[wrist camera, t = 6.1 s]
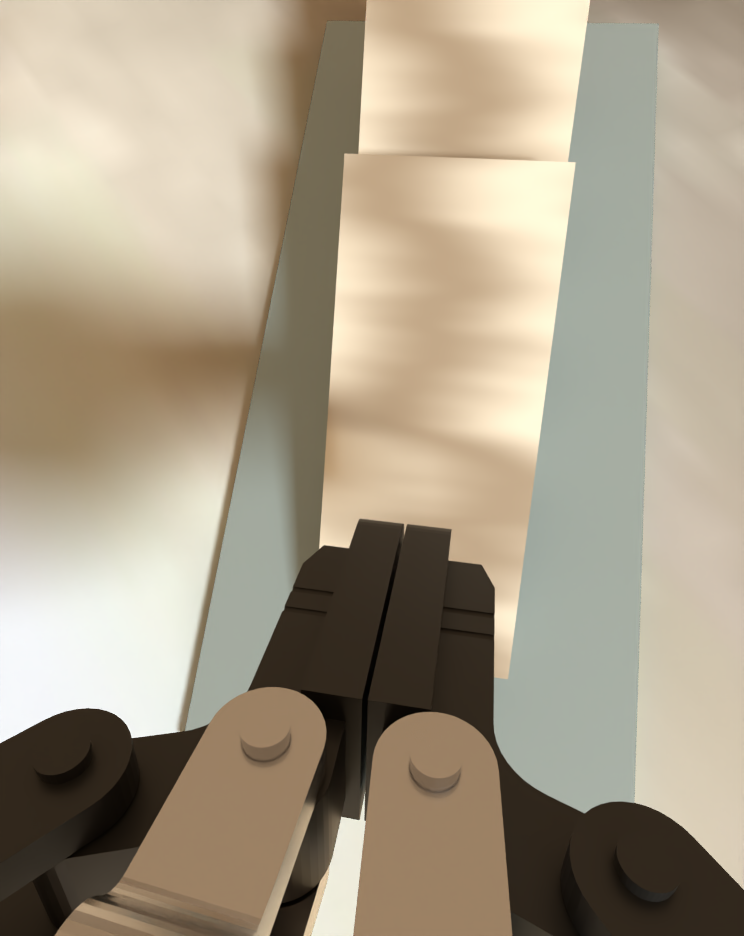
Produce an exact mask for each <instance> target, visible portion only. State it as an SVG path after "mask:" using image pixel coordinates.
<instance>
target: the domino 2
mask: <svg viewBox="0 0 744 936" xmlns="http://www.w3.org/2000/svg"><path fill="white" fill-rule="evenodd" d="M575 164H576V162H555V161H528V160H502V159H476V158H450V157H424V156H397V155H371V154H344V170H343V185H342V201H341V216H340V232H339V248H338V263H337V279H336V294H335V310H334V326H333V341H332V357H331V372H330V388H329V404H328V419H327V435H326V450H325V466H324V482H323V497H322V513H321V528H320V544H319V549H320V548H321V547H322V546H323V545H327V546H335V547H343V548H349V546H350V543H351V540H352V538H353V535H354V532H355V529H356V526H357V523H358V521H359V519H369V520H377V521H386V522H394V523H403V524H404V535H405V530H406V526H407V524H413V525H421V526H430V527H438V528H446V529H452V531H451V541H450V550H449V561H457V562H465V563H473V564H481V565H482V566H483V568H484V570H485V571H486V573H487V575H488V577H489V578H490V580H491V582H492V584H493V585H494V587H495V615H494V619H495V635H494V677H496V678H502V679H508V675H509V668H510V660H511V652H512V645H513V637H514V630H515V622H516V614H517V607H518V599H519V591H520V584H521V576H522V569H523V561H524V553H525V546H526V538H527V530H528V523H529V515H530V507H531V500H532V492H533V485H534V477H535V469H536V462H537V454H538V446H539V439H540V431H541V424H542V416H543V408H544V401H545V393H546V385H547V378H548V370H549V363H550V355H551V347H552V340H553V332H554V324H555V317H556V309H557V302H558V294H559V286H560V279H561V271H562V263H563V256H564V248H565V241H566V233H567V225H568V218H569V210H570V202H571V195H572V187H573V180H574V172H575Z"/></svg>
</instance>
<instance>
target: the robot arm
mask: <svg viewBox="0 0 744 936" xmlns="http://www.w3.org/2000/svg"><path fill="white" fill-rule="evenodd" d="M451 531H452V529H446V528H438V527H430V526H421V525H413V524H407V526H406V530H405V535H404V524H403V523H394V522H386V521H377V520H369V519H359V521H358V523H357V526H356V529H355V532H354V535H353V538H352V540H351V543H350V546H349V548H343V547H335V546H327V545H323V546H322V547H321V548H320V549H319V550H318V551H317V552H315V553H314V554H313V555H312V556H311V557H310V558H308V559H307V560H306V561H305V562H304V563H303V564H302V567H301V569H300V571H299V574H298V576H297V578H296V580H295V583H294V585H293V590H292V591H291V592H290V594H289V597H288V599H287V601H286V604H285V608H284V611H282V613H281V615H280V618H279V620H278V622H277V625H276V627H275V629H274V632H273V634H272V636H271V639H270V641H269V643H268V646H267V648H266V650H265V653H264V655H263V657H262V659H261V662H260V664H259V666H258V669H257V671H256V673H255V676H254V678H253V680H252V683H251V685H250V687H249V689H248V691H247V692H245V693H243V694H241V695H238V696H237V697H235V698H233V699H232V700H230V701H229V702H228V703H226V704H225V705H224V706H223V707H222V708H221V709H220V710H219V711H218V712H217V713H216V714H215V716H214V717H213V719H212V720H211V722H210V723H209V724H207V725H205V726H202V727H199V728H196V729H193V730H188V731H183V732H177V733H169V734H162V735H154V736H146V737H139V738H131V734H130V731H129V729H128V727H127V725H126V724H125V723H124V722H123V721H122V719H120V718H119V717H117V716H116V715H115V714H112V713H110V712H108V711H104V710H100V709H89V708H86V709H76V710H71V711H66V712H63V713H60V714H57V715H54V716H52V717H50V718H48V719H46V720H44V721H42V722H40V723H38V724H36V725H34V726H32V727H30V728H28V729H27V730H25V731H23V732H21V733H19V734H17V735H15V736H13V737H11V738H10V739H8V740H6V741H4V742H2V743H0V936H311V934H312V931H313V928H314V924H315V921H316V918H317V914H318V911H319V907H320V904H321V901H322V897H323V894H324V891H325V887H326V884H327V880H328V875H329V865H330V862H331V859H332V856H333V851H334V847H335V842H336V838H337V833H338V829H339V824H340V820H341V817H346V818H351V819H357V820H360V815H361V810H362V805H363V799H364V794H365V821H366V825H365V834H364V843H363V852H362V861H361V871H360V880H359V889H358V898H357V907H356V916H355V926H354V935H353V936H744V890H743V889H742V888H741V887H740V885H739V884H738V883H737V882H736V881H735V880H734V879H733V878H732V877H731V876H730V875H729V874H728V873H727V872H726V871H725V870H724V869H723V868H722V867H721V866H720V865H719V864H718V863H717V862H716V860H715V859H714V858H713V857H712V856H711V855H710V854H709V853H708V852H707V851H706V850H705V849H704V848H703V847H702V846H701V845H700V844H699V843H698V842H697V841H696V840H695V839H694V838H693V837H692V836H691V835H690V834H689V833H688V832H687V831H686V830H685V829H684V828H683V827H682V826H680V825H679V824H677V823H676V822H675V821H673V820H672V819H671V818H669V817H667V816H666V815H664V814H662V813H660V812H659V811H656V810H654V809H652V808H649V807H647V806H644V805H640V804H636V803H631V802H623V801H619V802H608V803H604V804H600V805H598V806H595V807H593V808H591V809H590V810H589V811H587V812H586V813H583V812H581V811H579V810H577V809H575V808H573V807H571V806H569V805H567V804H564V803H562V802H560V801H558V800H556V799H554V798H552V797H550V796H548V795H546V794H544V793H543V792H541V791H539V790H537V789H536V788H534V787H533V786H531V785H530V784H529V783H527V782H526V781H525V780H523V779H522V778H521V777H520V776H519V775H518V774H517V773H516V772H515V771H514V770H513V769H512V767H511V766H510V765H509V764H508V763H507V761H506V759H505V758H504V756H503V755H502V753H501V751H500V749H499V746H498V744H497V741H496V737H495V733H494V635H495V619H494V615H495V587H494V585H493V584H492V582H491V580H490V578H489V577H488V575H487V573H486V571H485V570H484V568H483V566H482V565H481V564H473V563H465V562H457V561H449V550H450V541H451Z"/></svg>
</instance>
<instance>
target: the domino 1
mask: <svg viewBox="0 0 744 936" xmlns="http://www.w3.org/2000/svg"><path fill="white" fill-rule="evenodd" d="M589 4H590V0H367V2H366V20H365V39H364V58H363V76H362V95H361V114H360V132H359V151H358V154H371V155H397V156H424V157H450V158H476V159H502V160H528V161H555V162H568V158H569V150H570V143H571V136H572V128H573V121H574V114H575V107H576V99H577V92H578V85H579V77H580V70H581V63H582V55H583V48H584V41H585V33H586V26H587V19H588V12H589Z"/></svg>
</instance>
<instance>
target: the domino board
mask: <svg viewBox="0 0 744 936" xmlns="http://www.w3.org/2000/svg"><path fill="white" fill-rule="evenodd" d="M658 29H659V24H642V23H587V26H586V33H585V41H584V48H583V55H582V63H581V70H580V77H579V85H578V92H577V99H576V107H575V114H574V121H573V128H572V136H571V143H570V150H569V158H568V162H576V164H575V172H574V180H573V187H572V195H571V202H570V210H569V218H568V225H567V233H566V241H565V248H564V256H563V263H562V271H561V279H560V286H559V294H558V302H557V309H556V317H555V324H554V332H553V340H552V347H551V355H550V363H549V370H548V378H547V385H546V393H545V401H544V408H543V416H542V424H541V431H540V439H539V446H538V454H537V462H536V469H535V477H534V485H533V492H532V500H531V507H530V515H529V523H528V530H527V538H526V546H525V553H524V561H523V569H522V576H521V584H520V591H519V599H518V607H517V614H516V622H515V630H514V637H513V645H512V652H511V660H510V668H509V675H508V679H502V678H496V677H494V733H495V737H496V741H497V744H498V746H499V749H500V751H501V753H502V755H503V756H504V758H505V759H506V761H507V763H508V764H509V765H510V766H511V767H512V769H513V770H514V771H515V772H516V773H517V774H518V775H519V776H520V777H521V778H522V779H523V780H525V781H526V782H527V783H529V784H530V785H531V786H533V787H534V788H536V789H537V790H539V791H541V792H543V793H544V794H546V795H548V796H550V797H552V798H554V799H556V800H558V801H560V802H562V803H564V804H567V805H569V806H571V807H573V808H575V809H577V810H579V811H581V812H583V813H586V812H587V811H589V810H590V809H591V808H593V807H595V806H598V805H600V804H604V803H608V802H619V801H623V802H631V803H634V797H635V765H636V733H637V701H638V669H639V637H640V605H641V573H642V541H643V509H644V477H645V445H646V413H647V381H648V349H649V317H650V285H651V253H652V221H653V189H654V157H655V125H656V93H657V61H658ZM364 39H365V21H327V24H326V29H325V34H324V39H323V44H322V49H321V54H320V59H319V64H318V69H317V74H316V79H315V84H314V89H313V94H312V99H311V104H310V109H309V114H308V119H307V124H306V129H305V134H304V139H303V144H302V149H301V154H300V159H299V164H298V169H297V174H296V179H295V184H294V189H293V194H292V199H291V204H290V209H289V214H288V219H287V224H286V229H285V234H284V239H283V244H282V249H281V254H280V259H279V264H278V269H277V274H276V279H275V284H274V289H273V294H272V299H271V304H270V309H269V314H268V319H267V324H266V329H265V334H264V339H263V343H262V348H261V353H260V358H259V363H258V368H257V373H256V378H255V383H254V388H253V393H252V398H251V403H250V408H249V413H248V418H247V423H246V428H245V433H244V438H243V443H242V448H241V453H240V458H239V463H238V468H237V473H236V478H235V483H234V488H233V493H232V498H231V503H230V508H229V513H228V518H227V523H226V528H225V533H224V538H223V543H222V548H221V553H220V558H219V563H218V568H217V573H216V578H215V583H214V588H213V593H212V598H211V603H210V608H209V613H208V618H207V623H206V628H205V633H204V638H203V643H202V648H201V653H200V658H199V663H198V668H197V673H196V678H195V683H194V688H193V693H192V698H191V703H190V708H189V713H188V718H187V723H186V728H185V731H188V730H193V729H196V728H199V727H202V726H205V725H207V724H209V723H210V722H211V720H212V719H213V717H214V716H215V714H216V713H217V712H218V711H219V710H220V709H221V708H222V707H223V706H224V705H225V704H226V703H228V702H229V701H230V700H232V699H233V698H235V697H237V696H238V695H241V694H243V693H245V692H247V691H248V689H249V687H250V685H251V683H252V680H253V678H254V676H255V673H256V671H257V669H258V666H259V664H260V662H261V659H262V657H263V655H264V653H265V650H266V648H267V646H268V643H269V641H270V639H271V636H272V634H273V632H274V629H275V627H276V625H277V622H278V620H279V618H280V615H281V613H282V611H284V608H285V604H286V601H287V599H288V597H289V594H290V592H291V591H292V590H293V585H294V583H295V580H296V578H297V576H298V574H299V571H300V569H301V567H302V564H303V563H304V562H305V561H306V560H307V559H308V558H310V557H311V556H312V555H313V554H314V553H315V552H317V551H318V550H319V544H320V528H321V513H322V497H323V482H324V466H325V450H326V435H327V419H328V404H329V388H330V372H331V357H332V341H333V326H334V310H335V294H336V279H337V263H338V248H339V232H340V216H341V201H342V185H343V170H344V154H358V151H359V132H360V114H361V95H362V76H363V58H364Z"/></svg>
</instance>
